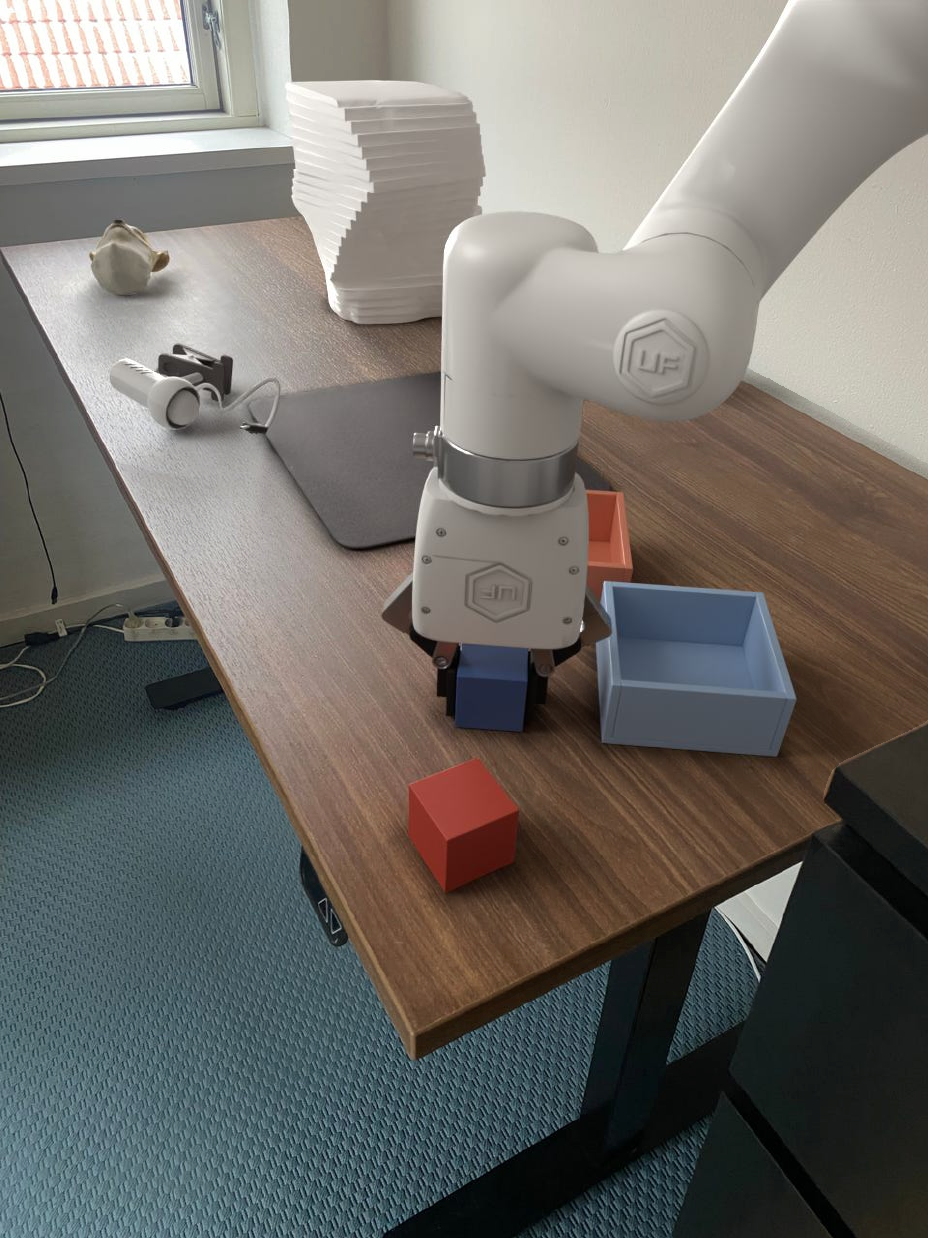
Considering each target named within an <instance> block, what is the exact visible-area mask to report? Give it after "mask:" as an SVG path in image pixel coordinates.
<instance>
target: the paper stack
mask: <svg viewBox="0 0 928 1238" xmlns="http://www.w3.org/2000/svg"><path fill="white" fill-rule="evenodd" d="M284 89H285V94H286V95H285V96H286V101H287V108H288V109H287V111H288V113H289V114H290V115H289V118H290V130H291V131H290V133H291V143H292V150H293V159H294V164H295V165H294V167H295V169H293V170H292V171H293V177H292V179H291V180H292V186H291V193H292V194H290V196H291V200H292V203H293V206H294V207H295V209H296V210H297V211H298V212H299V214H301V215H302V216H303V217H304V220H305V222H306V224H307V226H308V228H309V230H310V232H311V235H312V238H313V242H314V244H315V247H316V249H317V254H318V256H319V260H320V262H321V265H322V268H323V271H324V274H325V280H326V287H327V295H328V297H327V298H328V303H329V306H330V308H331V310H332V311H333V312H334V313H336V314H337V315H338V317H340V318H341V319H342V320H345V321H350V322H353V323H355V324H358V325H380V324H381V325H387V324H405V323H412V322H417V321H420V320H422V319H423V320H424V319H427V318H439V317H442V301H443V264H444V251H445V247H446V243H447V241H448V239H449V237H450V235H451V233H452V232H453V230H454V229H455V228H456V227H457V226H458V225H459V224H461V223H462V222H463V221H465V220H467V219H469V218H472V217H475V216H478V215H482V214H483V207H482V205H479V197H481V196H482V195H481V194H482V193H481V188H482V187H484V178H485V177H486V176H487V175H486V174H487V173H486V172H487V171H486V165H485V160H484V159H485V158H484V154H483V144H482V135H481V124H480V123H478V121H477V118H478V117H477V112H476V111H474V105H473V101H472V100H471V99H469V97H468V96H467V95H465V94H464V93H462V92H459V91H455V90H452V89H451V90H450V89H447V88H444V87H442V86H441V85H438V84H437V85H436V84H431V83H426V82H421V81H413V80H412V81H408V80H375V79H369V80H368V79H366V80H363V79H362V80H320V81H318V80H317V81H315V80H314V81H286V82H285V85H284Z"/></svg>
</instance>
